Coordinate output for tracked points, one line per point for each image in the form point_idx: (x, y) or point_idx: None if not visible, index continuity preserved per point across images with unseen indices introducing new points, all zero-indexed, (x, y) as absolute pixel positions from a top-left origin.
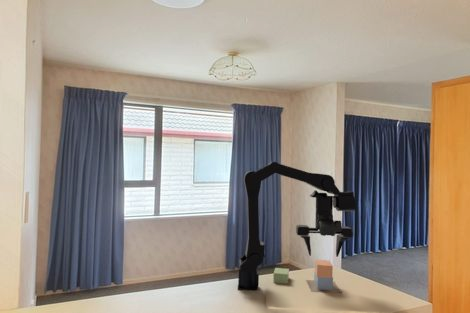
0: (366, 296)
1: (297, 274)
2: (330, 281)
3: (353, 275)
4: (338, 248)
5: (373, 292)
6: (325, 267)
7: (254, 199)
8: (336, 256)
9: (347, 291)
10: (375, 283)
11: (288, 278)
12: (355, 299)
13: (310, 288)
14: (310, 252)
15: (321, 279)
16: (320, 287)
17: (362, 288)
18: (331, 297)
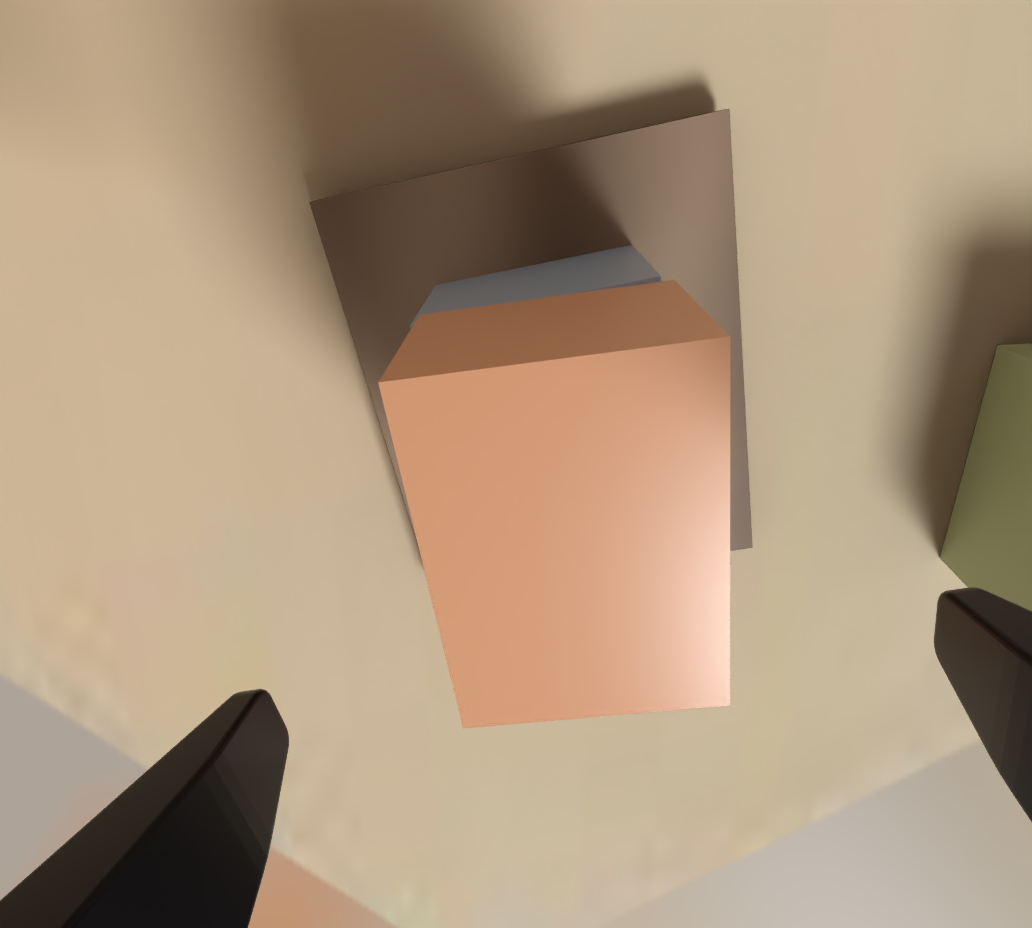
0: (46, 275)
1: (809, 735)
2: (455, 302)
3: (275, 833)
4: (86, 880)
5: (9, 440)
6: (535, 349)
7: None
8: (273, 702)
9: (277, 380)
10: (54, 697)
11: (972, 528)
12: (145, 103)
13: (727, 250)
14: (1015, 638)
15: (595, 279)
16: (597, 254)
17: (140, 527)
18: (449, 68)
